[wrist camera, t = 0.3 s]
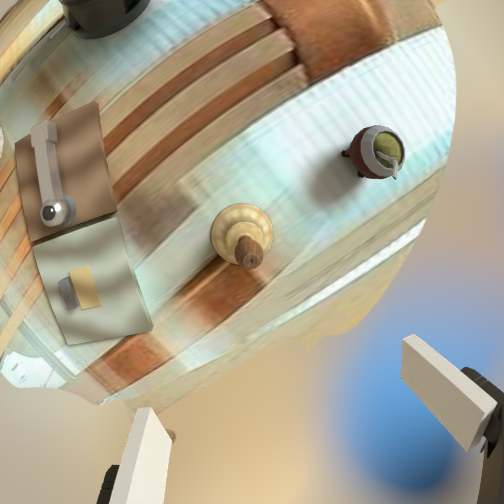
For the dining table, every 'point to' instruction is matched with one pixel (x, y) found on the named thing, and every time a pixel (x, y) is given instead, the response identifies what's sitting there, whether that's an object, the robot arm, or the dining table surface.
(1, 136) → the coaster
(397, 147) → the mate gourd
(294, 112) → the dining table surface
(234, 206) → the hand bell
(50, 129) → the swing bar
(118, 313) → the door board
